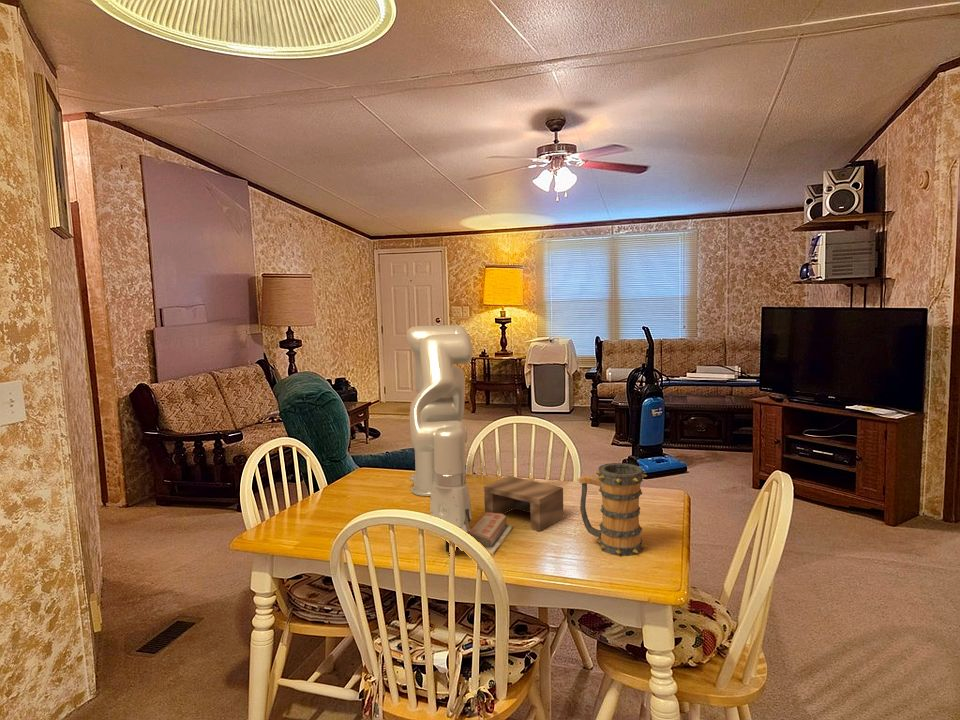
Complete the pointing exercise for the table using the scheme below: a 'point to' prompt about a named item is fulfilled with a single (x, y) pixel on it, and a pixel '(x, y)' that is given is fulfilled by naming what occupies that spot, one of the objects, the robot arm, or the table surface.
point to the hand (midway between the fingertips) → (452, 550)
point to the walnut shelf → (526, 500)
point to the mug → (616, 508)
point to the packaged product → (490, 530)
